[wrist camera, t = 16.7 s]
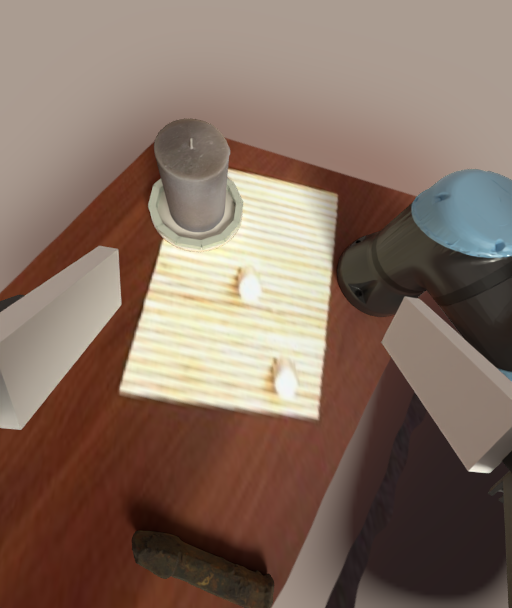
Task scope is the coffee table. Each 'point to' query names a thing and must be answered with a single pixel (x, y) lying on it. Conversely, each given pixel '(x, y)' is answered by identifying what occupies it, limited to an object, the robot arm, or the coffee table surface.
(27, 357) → the robot arm
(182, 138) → the pillar candle
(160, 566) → the dark brown bark log
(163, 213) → the candle plate
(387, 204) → the coffee table surface
